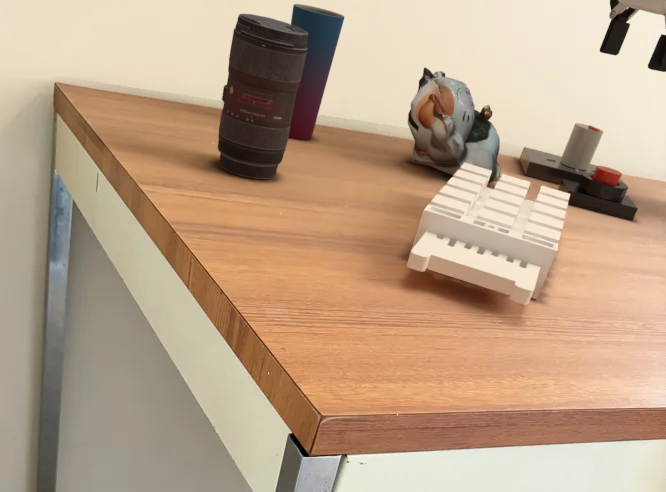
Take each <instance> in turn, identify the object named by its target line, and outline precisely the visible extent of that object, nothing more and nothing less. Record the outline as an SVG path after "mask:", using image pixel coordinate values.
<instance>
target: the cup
mask: <svg viewBox="0 0 666 492" xmlns="http://www.w3.org/2000/svg"><path fill="white" fill-rule="evenodd" d="M290 20H291V21H290V24H291V25H293V26H296V27H299V28H301V29H303V30H305V31H306V32H308V40H307V48H308V49H307V54H306V58H305V63H304V68H303V73H302V78H301V81H300V85H299V87H298V90H297V93H296V98H295V103H294V109H293V114H292V119H291V124H290V132H289V137H288V138H291V139H296V140H300V141H301V140H302V141H309V140H311V139H312V137H313V133H314V129H315V127H316V123H317V119H318V116H319V113H320V112H319V111H320V108H321V104H322V100H323V97H324V94H325V89H326V86H327V83H328V79H329V75H330V72H331V68H332V65H333V61H334V57H335V53H336V50H337V47H338V43H339V39H340V35H341V32H342V28H343V24H344V20H345V15H343V14H341V13H338V12H335V11H332V10H328V9H325V8H321V7H316V6H312V5H308V4H300V3H293V6H292V13H291V19H290Z"/></svg>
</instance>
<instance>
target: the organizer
mask: <svg viewBox="0 0 666 492" xmlns="http://www.w3.org/2000/svg"><path fill="white" fill-rule="evenodd" d="M491 173H492V170H488V169H485V168H481V167H478V166H475V165H471V164H468V163H465V162H464V164H463V165H462V166H461V167H460V169H459V170H458V171H457V172H456V173H455V174H454V176H453V175H452V177H450V179H449V180H448V181H447V182H446V184H445V185H444V186H442V188H441V189H440V190H439V192H438V194H436V195H435V196H434V197H433V198H432V199H431V201H430V203H428V204H427V206H426V207H425V208H424V209H423V210H422V214H421V217H420V221H419V224H418V227H417V230H416V234H415V237H414V240H413V243H412V246H411V250H410V253H409V255H408V259H407V263H406V267H407V268H409V269H411V270H414V271H417V272H426V270H429V271H433V272H436V273H439V274H442V275H445V276H448V277H451V278H454V279H457V280H461V281H464V282H467V283H469V284H473V285H476V286H479V287H482V288H486V289H487V290H492V291H495V292H498V293H501V294H504V295H507V296H509V297H508V299H509V300H510V301H511V302H514V303H517V304H520V305H525V306H527V305H529V303H530V301H531V299H533V300H536V301H537V300H538V298H539V295H540V293H541V290H542V288H543V286H544V283H545V281H546V279H547V277H548V275H549V271H550V270H551V267H552V264H553V262H554V260H555V257H556V255H557V252H558V248H559V246H560V245H559V244H560V241H561V236H562V231H563V227H564V223H565V219H566V214H567V210H568V206H569V204H568V201H569V198H570V194H569V193H566V192H562V191H559V190H558V189H555V188H552V187H549V186H545V185H541V186H540V188H539V191H538V194H537V196H536V199H535V200H531V199H528V198H526V196H527V194H528V192H529V188H530V186H531V183H532V182H531V181H529V180H526V179H522V178H518V177H515V176H511V175H508V174H506V173H505V174H504V173H501V175H500V178H499V179H498V180H497V182H496V183H495V186H494V188H490V187H488V185H489V184H488V181H489V179H490V176H491ZM487 184H488V185H487Z"/></svg>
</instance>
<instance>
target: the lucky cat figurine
mask: <svg viewBox="0 0 666 492" xmlns="http://www.w3.org/2000/svg"><path fill="white" fill-rule="evenodd" d="M475 107H476V106H475V103H474V100H473V96H472V93H471V91H470V88H469V87H468V86H467V84H466V83H465V82H463V81H461V80H459V79H455V78H452V77H447V76H446V72H443V70H438V71H435V72H432V71H431V70H430V69H429V68H427V67H423V71H422V76H421V78H420V79H419V80H418V88H417V92H416V94H415V96H414V97H413V98H412V100H411V102H410V109H409V112H408V114H407V125H408V127H409V131H410V132H411V136H412V138H413V140H414V144H413V149H412V157H411V158H412V159H411V160H412V163H413V164H420V165H425V166H428V167H431V168H434V169H436V170H438V171H441V172H443V173H446V174H448V175H451V176H452V177H453V176H454V174H455V173H456V172H457V171H458V170H459V169H460V167H461V166H462V165H463V164H464V162H465V163H468V164H471V165H475V166H478V167H481V168H485V169H488V170H492V173H491V176H490V179H489V181H488V184H487V186H488V185H489V184H491V183H493V182H498V181H499V179H500V178H501V171H502V167H501V164H500V163H499V162H498V157H499V154H500V153H499V152H500V148H501V147H500V142H501V141H500V136H499V133H498V131H497V129H496V127H495V126H494V123H492V122H491V121H490V120H491V118H492V116H493V110H492V109H491V107H490V104H488V105H485V106H483V107H482V108H481V110H480V111H478V110H477V109H475Z"/></svg>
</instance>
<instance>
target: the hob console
mask: <svg viewBox="0 0 666 492" xmlns="http://www.w3.org/2000/svg"><path fill="white" fill-rule="evenodd" d="M561 158H562V155H558V154H553V153H549V152H547V151H546V152H545V151H543V150H542V151H541V150H538V149H534V148H530V147H526V146H524V147H523V148H522V151H521V153H520V156H519V163H520V165H521V168H522V171H523V174H524V176H526V177H531V178H535V179H538V180H541V181H546V182H549V183H554V184H558V185H560V183H561V181H562V179H565V180H569V181H573V182H576V183H578V181H579V179H580V176H581V174H582V173H585V172H588V173H594V172H595V169H596V167H597V166H598V165H596V164H592V163H590V165H589V168H588V170H579V169H575V168H572V167H569V166H566V165H564V164H562V163H561V162H560V160H561ZM619 181H620V182H622V183H624V184H625V182H624V181H623V180H622V177H620V180H619Z"/></svg>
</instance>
